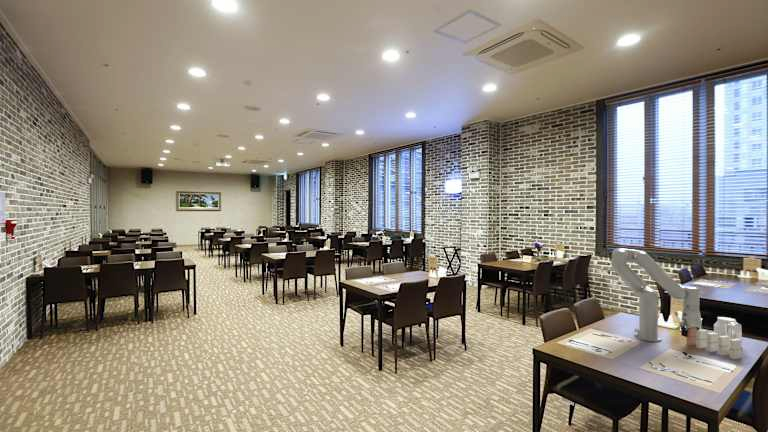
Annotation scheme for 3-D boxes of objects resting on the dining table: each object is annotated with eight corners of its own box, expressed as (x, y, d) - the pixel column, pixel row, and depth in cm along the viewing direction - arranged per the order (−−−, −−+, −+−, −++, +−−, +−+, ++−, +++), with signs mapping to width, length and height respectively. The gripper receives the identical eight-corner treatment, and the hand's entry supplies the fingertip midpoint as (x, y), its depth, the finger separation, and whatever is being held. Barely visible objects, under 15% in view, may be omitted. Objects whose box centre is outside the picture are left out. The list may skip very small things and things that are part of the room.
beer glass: (745, 352, 207) (745, 325, 207) (730, 351, 208) (730, 324, 208) (735, 347, 214) (735, 322, 214) (722, 346, 215) (722, 321, 215)
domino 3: (706, 350, 209) (706, 333, 209) (714, 349, 211) (714, 332, 211) (710, 351, 207) (710, 334, 207) (718, 350, 209) (717, 333, 209)
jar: (712, 342, 222) (712, 318, 222) (715, 339, 228) (715, 315, 228) (738, 347, 213) (738, 322, 213) (740, 344, 219) (740, 319, 219)
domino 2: (696, 347, 214) (696, 330, 214) (703, 346, 216) (703, 329, 216) (699, 348, 212) (699, 331, 212) (707, 347, 214) (707, 330, 214)
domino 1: (686, 344, 219) (686, 327, 219) (693, 343, 221) (693, 326, 221) (689, 345, 218) (689, 328, 218) (696, 344, 219) (696, 327, 219)
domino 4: (718, 354, 204) (718, 336, 204) (725, 353, 205) (725, 335, 205) (721, 355, 202) (721, 337, 202) (729, 354, 203) (729, 336, 203)
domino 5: (729, 357, 198) (729, 339, 198) (737, 356, 200) (737, 338, 200) (733, 359, 196) (733, 340, 197) (741, 357, 198) (741, 339, 198)
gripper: (687, 309, 213) (686, 338, 214) (708, 308, 218) (707, 336, 218) (674, 306, 221) (673, 334, 221) (694, 305, 225) (693, 332, 226)
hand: (690, 335), depth 220 cm, fingers open, 9 cm apart
